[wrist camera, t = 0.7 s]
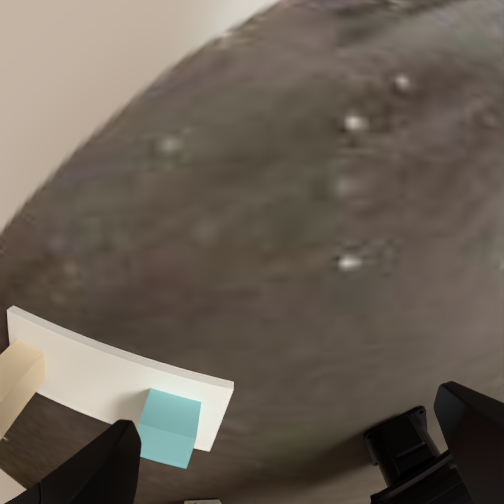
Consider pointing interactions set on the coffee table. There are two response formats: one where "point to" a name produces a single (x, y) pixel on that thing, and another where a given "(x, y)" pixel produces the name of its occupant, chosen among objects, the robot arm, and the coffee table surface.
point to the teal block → (168, 428)
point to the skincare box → (203, 502)
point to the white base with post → (96, 377)
